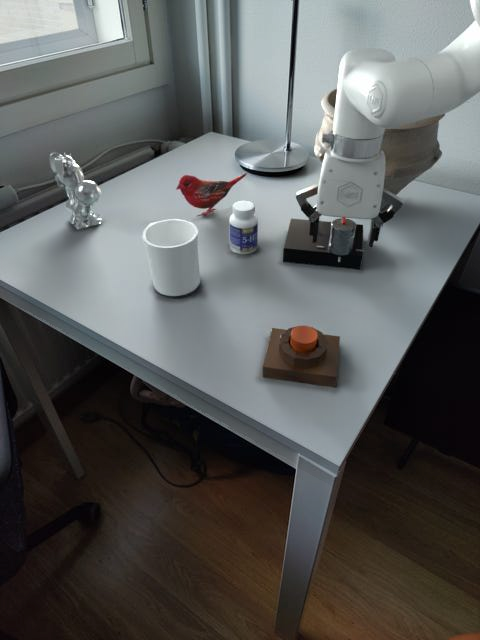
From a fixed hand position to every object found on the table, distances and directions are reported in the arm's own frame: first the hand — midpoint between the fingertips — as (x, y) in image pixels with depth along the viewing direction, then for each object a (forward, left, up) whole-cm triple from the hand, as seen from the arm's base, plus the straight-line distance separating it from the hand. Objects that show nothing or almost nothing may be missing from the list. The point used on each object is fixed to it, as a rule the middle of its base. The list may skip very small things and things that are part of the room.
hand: (342, 241), depth 81 cm
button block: (+4, +26, -5) cm, 27 cm away
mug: (+28, +11, -5) cm, 31 cm away
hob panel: (+3, -3, -5) cm, 6 cm away
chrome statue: (+52, -5, -5) cm, 53 cm away
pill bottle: (+18, -2, -5) cm, 19 cm away
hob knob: (0, 0, -2) cm, 2 cm away
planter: (-5, -24, -5) cm, 25 cm away
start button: (+4, +26, -1) cm, 26 cm away
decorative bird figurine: (+27, -15, -5) cm, 32 cm away
